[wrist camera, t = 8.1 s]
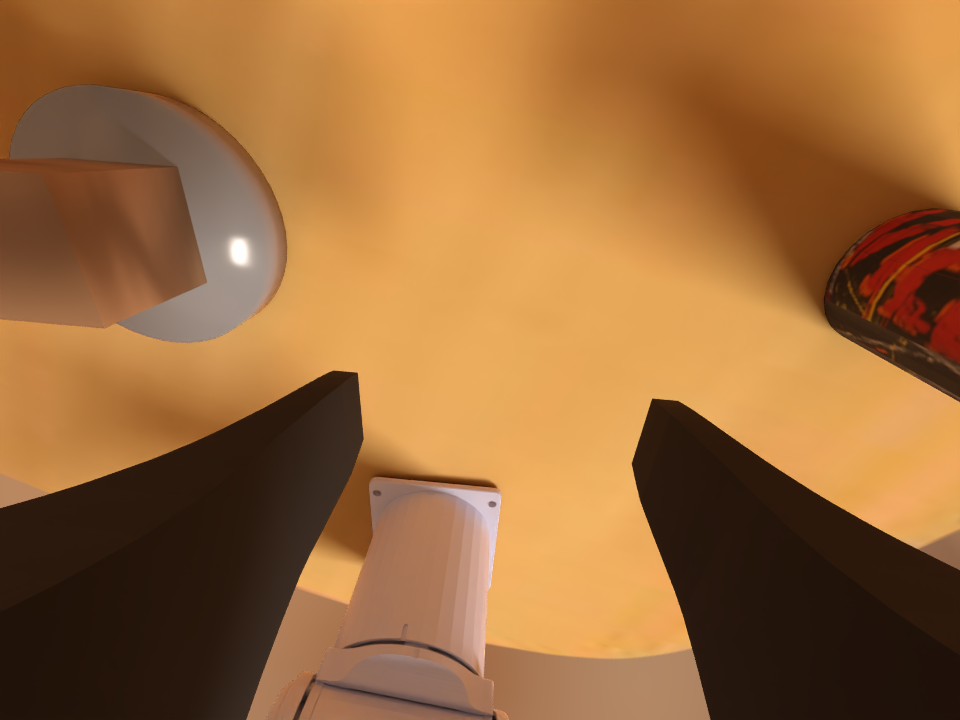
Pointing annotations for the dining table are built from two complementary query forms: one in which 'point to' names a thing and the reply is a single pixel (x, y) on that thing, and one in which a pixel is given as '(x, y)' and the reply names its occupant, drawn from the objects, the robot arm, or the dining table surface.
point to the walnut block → (92, 240)
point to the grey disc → (208, 190)
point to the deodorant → (904, 295)
